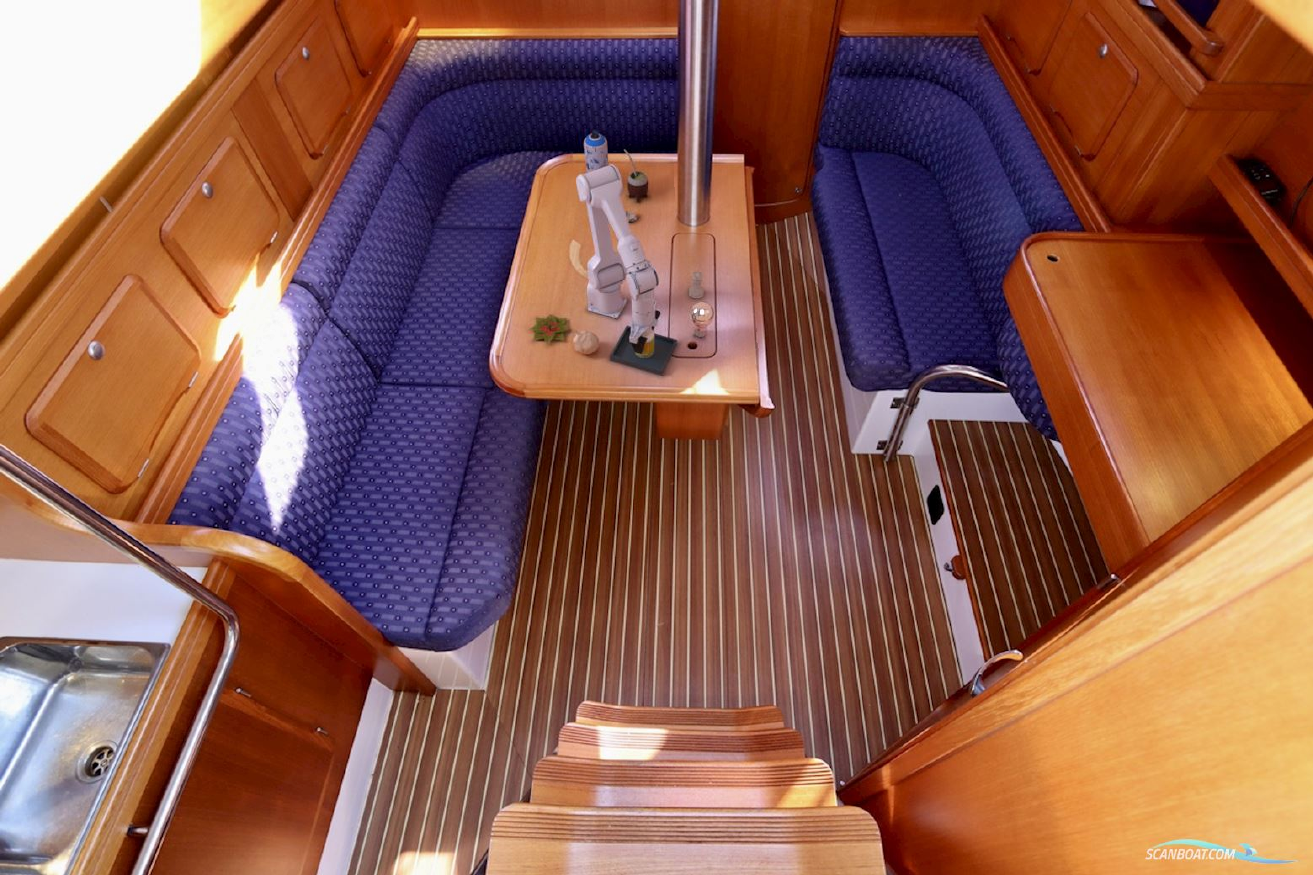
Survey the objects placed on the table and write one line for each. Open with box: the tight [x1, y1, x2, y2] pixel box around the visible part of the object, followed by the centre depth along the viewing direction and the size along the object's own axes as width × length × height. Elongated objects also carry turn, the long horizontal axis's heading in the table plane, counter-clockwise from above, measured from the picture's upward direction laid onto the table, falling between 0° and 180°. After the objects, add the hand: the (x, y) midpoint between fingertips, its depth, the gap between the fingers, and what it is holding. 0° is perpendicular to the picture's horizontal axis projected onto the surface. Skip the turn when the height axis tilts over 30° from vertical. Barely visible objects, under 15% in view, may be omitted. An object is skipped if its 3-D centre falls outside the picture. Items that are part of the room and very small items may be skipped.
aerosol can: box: [583, 129, 609, 173], centre depth 213 cm, size 8×8×20 cm
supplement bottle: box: [636, 327, 655, 358], centre depth 176 cm, size 5×5×10 cm
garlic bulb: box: [572, 330, 600, 355], centre depth 177 cm, size 7×6×8 cm
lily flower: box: [530, 314, 571, 345], centre depth 183 cm, size 12×12×5 cm
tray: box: [609, 325, 678, 377], centre depth 179 cm, size 15×12×2 cm
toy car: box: [624, 210, 638, 223], centre depth 211 cm, size 4×8×3 cm, turn 103°
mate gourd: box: [623, 148, 649, 203], centre depth 213 cm, size 8×8×15 cm
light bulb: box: [688, 300, 715, 338], centre depth 179 cm, size 7×7×12 cm
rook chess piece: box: [688, 270, 704, 299], centre depth 190 cm, size 4×4×8 cm
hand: (643, 342), depth 177 cm, fingers open, 7 cm apart
